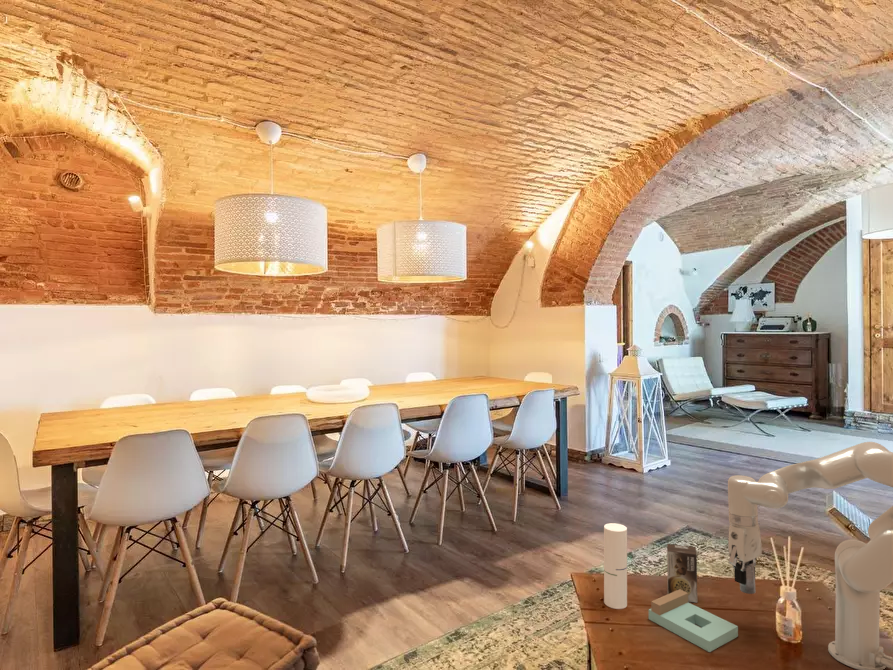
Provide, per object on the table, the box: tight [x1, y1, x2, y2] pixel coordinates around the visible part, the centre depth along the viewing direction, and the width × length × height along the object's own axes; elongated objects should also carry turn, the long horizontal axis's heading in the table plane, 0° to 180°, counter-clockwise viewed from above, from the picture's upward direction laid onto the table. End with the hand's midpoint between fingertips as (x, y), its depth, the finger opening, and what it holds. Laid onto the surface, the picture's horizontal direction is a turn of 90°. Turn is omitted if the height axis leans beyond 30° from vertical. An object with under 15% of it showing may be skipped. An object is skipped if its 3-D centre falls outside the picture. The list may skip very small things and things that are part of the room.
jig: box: [648, 589, 739, 653], centre depth 163 cm, size 20×14×6 cm
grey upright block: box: [737, 561, 757, 595], centre depth 160 cm, size 4×4×8 cm
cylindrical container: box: [603, 522, 628, 610], centre depth 177 cm, size 7×7×25 cm
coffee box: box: [666, 543, 698, 603], centre depth 181 cm, size 9×6×16 cm
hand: (745, 580), depth 160 cm, fingers closed on grey upright block, 4 cm apart
